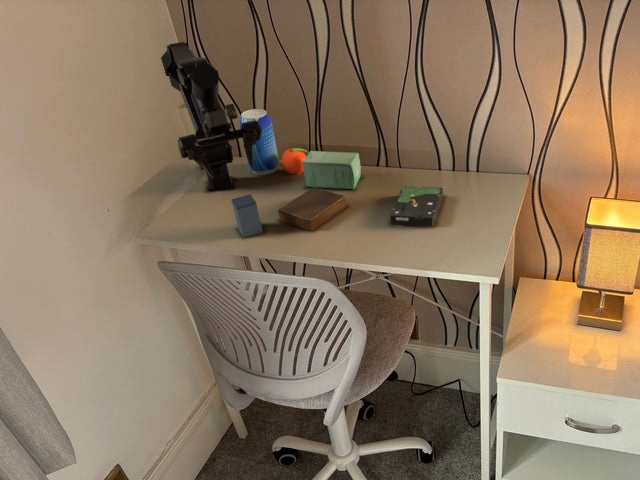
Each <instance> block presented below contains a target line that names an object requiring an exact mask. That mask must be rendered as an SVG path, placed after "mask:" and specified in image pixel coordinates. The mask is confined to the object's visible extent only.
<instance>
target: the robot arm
mask: <svg viewBox="0 0 640 480" xmlns="http://www.w3.org/2000/svg"><path fill="white" fill-rule="evenodd" d="M161 60H162V63H163V67H164V70H165V74H166V76H169V79H170V81H169V83H170V82H171V84H170V87H172V88H174V89H176V90H177V91H178V92H180V95H181V97H182V100H183V102H184V105H185V107H186V110H187V112H188V115H189V117H190V120H191V123H192V124H193V128H194V129H195V133H193V134H189V135H184V136H179V137H178V139H177V147H178V151H179V154H180V157H181V158H182V159H188V160H189V161H194V162H195V163H196V164H197V166H198V167H199V169H200V171H203V170H204V171H205V174H206V178H207V187H206V190H207V192H212V191H213V192H214V191H220V190H227V189H233V185H234V183H233V182H234V177H233V176H232V175H230V172H229V168H228V164H232V163H233V160H234V156H233V146H232V144H230V141H234V140H238V139H242V142H243V141H244V143H243V148H244V151H245V155H247V156H246V159H247V158H248V161H247V163H248V162H249V165H250V167H251V168H253V151H252V148H253V145H255V144H256V141H258V140H259V139H260V137H261V131H262V129H261V126H260V123H259V122H257V121H256V120H253V121H249V122H244V123H241V129H240V128H239V129H235V130H231V129H232V120H236V119H237V118H238V117H239V116H238V112H237V109H236V107H235V105H234V103H228V104H225V105H224V108H223V107H222V105H221V102H220V99H219V92H220V91H219V90H220V89H219V88H220V86H219V85H220V74H219V71H218V69H216V68H215V67H214V66H213V64H211V62H208V61H207V59H206V58H205V57H201V56H195V55H194V51H193V50H191V49H190V47H189V45H188V43H187V42H184V41H179V42H175V43H169V44H168V45H166V50H165V52H164V53H163V54H162V56H161V57H160V61H161ZM162 63H161V64H162ZM169 79H168V80H169ZM249 165H248V166H249Z"/></svg>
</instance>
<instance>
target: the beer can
mask: <svg viewBox="0 0 640 480" xmlns="http://www.w3.org/2000/svg"><path fill="white" fill-rule="evenodd" d="M240 117H241V118H240V121H239V129H241V123H244V122H249V121H253V120H256V121H257V122H259V123H260V126H261V129H262V131H261V137H260V139H259V140H258V141H256V144H255V145H253V148H252V151H253V168H251V167H250V165H249V162H248V158H247V155H246V154H245V155H246V161H247V166H248V169H249V170H250V171H251V172H252V173H253V174H255V175H258V176H265V175H270V174H273V173H275V172H277V170H278V167H279V166H280V159H279V153H278V148H277V143H276V137H275V132H274V126H273V121H272V118H271V117H270V116H269V115H268V113H267V111H266V110H265V109H262V108H253V109H248V110H245V111H243V112H242V113H241V115H240ZM242 142H243V143H242V144H244V141H243V140H242Z"/></svg>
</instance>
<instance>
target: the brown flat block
mask: <svg viewBox="0 0 640 480" xmlns="http://www.w3.org/2000/svg"><path fill="white" fill-rule="evenodd" d="M345 208H347V204H346V196H345V195H342V194H338V193H335V192H331V191H328V190H324V189H322V188H317V187H311V188H310V189H308V190H306V191H305V192H303V193H302V194H300V195H298V196H297V197H295V198H294V199H292V200H290V202H288V203H286V204H284V205H283V206H281V207H279V208H278V209H277V212H278V216H279V221H280V222H284V223H285V224H288V225H289V224H290V225H292V226H296V227H299V228H301V229H304V230H307V231H310V232H311V231H314V230H315V229H317V228H318V227H320V226H321V225H322V224H324V223H325V222H327V221H328V220H330V219H332V217H334V216H336V215H337V214H338V213H340V212H341V211H343V210H345Z"/></svg>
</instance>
